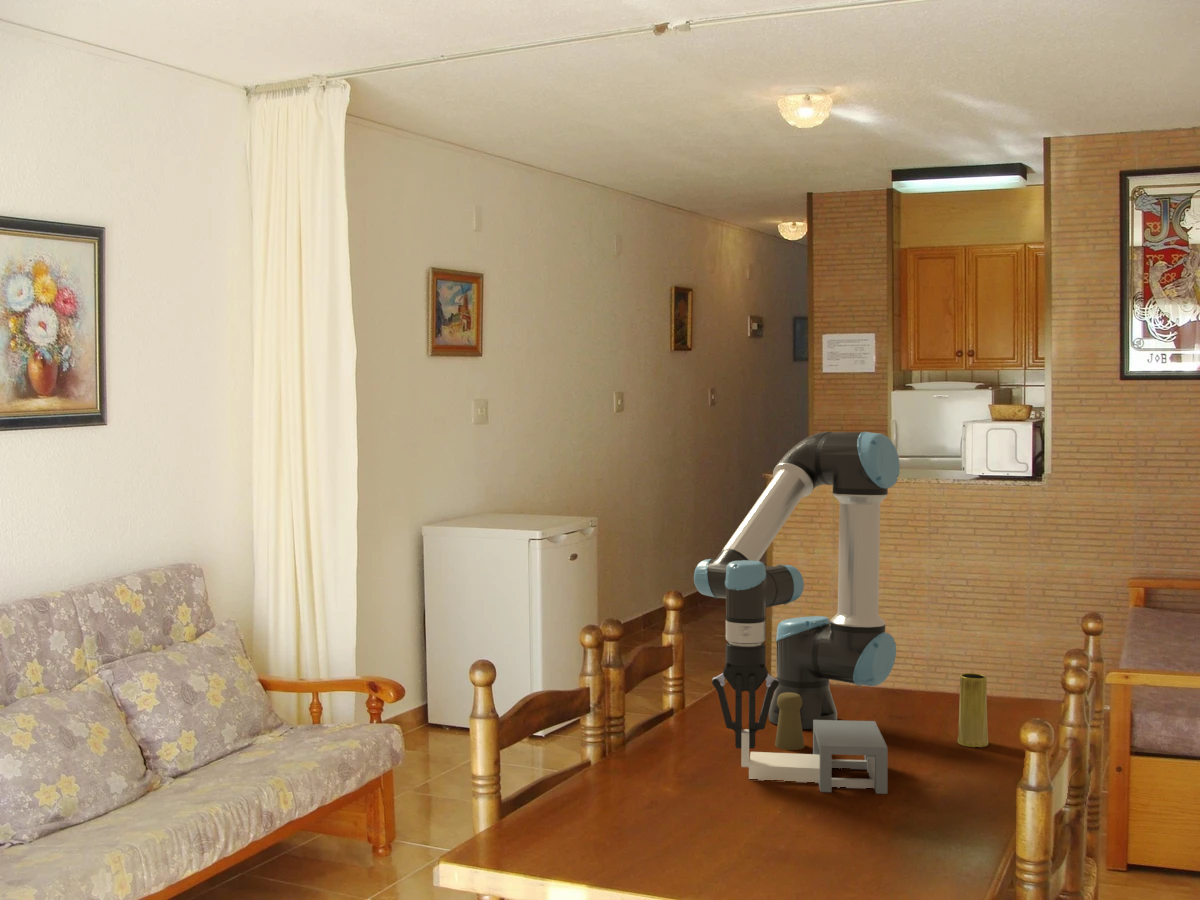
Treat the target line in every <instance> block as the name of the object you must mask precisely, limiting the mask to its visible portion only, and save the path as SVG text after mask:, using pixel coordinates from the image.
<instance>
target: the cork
mask: <svg viewBox="0 0 1200 900" xmlns="http://www.w3.org/2000/svg"><path fill="white" fill-rule="evenodd" d="M777 705H778V707H779V709H780V711H779V718H778V725H776V726H777V728H776V733H775V734H776V735H775V742H774V747H775V746H776V747H775V748H777V747H778V749H779V748H781V749H780V750H783V749H787V750H786V751H798V749H800V750H802V748H803V749H804V748H805V741H804V732H803V729H802V724H801V717H800V708H801V707H802V698H801V696H800V695H799V694H797V693H791V692H786V693H781V694H780V695H779V696H778V698H777Z"/></svg>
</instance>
